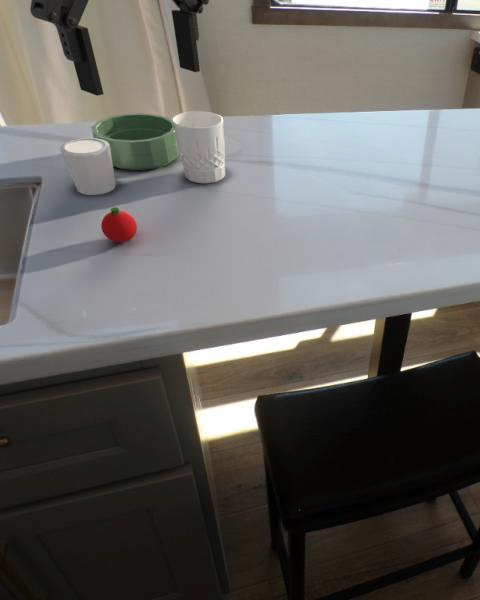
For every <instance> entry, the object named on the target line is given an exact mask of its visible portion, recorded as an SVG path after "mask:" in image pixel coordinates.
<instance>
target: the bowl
mask: <svg viewBox="0 0 480 600" xmlns="http://www.w3.org/2000/svg"><path fill="white" fill-rule="evenodd" d="M91 133H92V137H93V138H96V139H101V140H105V141H107V142H109V145H110V149H111V156H112V163H113V168H117V169H120V170H129V171H146V170H153V169H157V168H158V169H159V168H161V167H164V166H167V165H169V164H171V163H172V162H173V161H175V160H176V159H178V158H179V157H180V153H179V149H178V144H177V140H176V135H175V131H174V126H173V122H172V119H171V118H170V117H168V116H163V115H159V114H154V113H142V112H135V113H134V112H133V113H122V114H115V115H111V116H108V117H105V118H102V119H100V120H98V121H96V122H95V123H94V124H93V125H92V126H91Z"/></svg>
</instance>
